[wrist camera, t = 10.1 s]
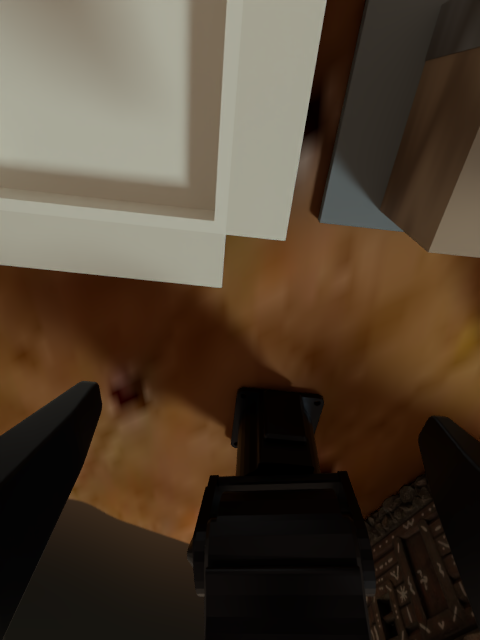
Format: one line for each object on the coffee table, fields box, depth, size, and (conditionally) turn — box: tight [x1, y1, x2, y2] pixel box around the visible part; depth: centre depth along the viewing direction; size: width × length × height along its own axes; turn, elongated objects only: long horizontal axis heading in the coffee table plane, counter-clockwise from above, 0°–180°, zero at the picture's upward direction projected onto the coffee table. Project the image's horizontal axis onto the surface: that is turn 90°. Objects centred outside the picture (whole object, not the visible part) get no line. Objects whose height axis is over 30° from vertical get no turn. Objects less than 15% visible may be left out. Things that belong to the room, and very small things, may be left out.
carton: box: [0, 0, 327, 288], centre depth 14 cm, size 21×20×2 cm
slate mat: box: [318, 0, 449, 232], centre depth 16 cm, size 10×10×1 cm
